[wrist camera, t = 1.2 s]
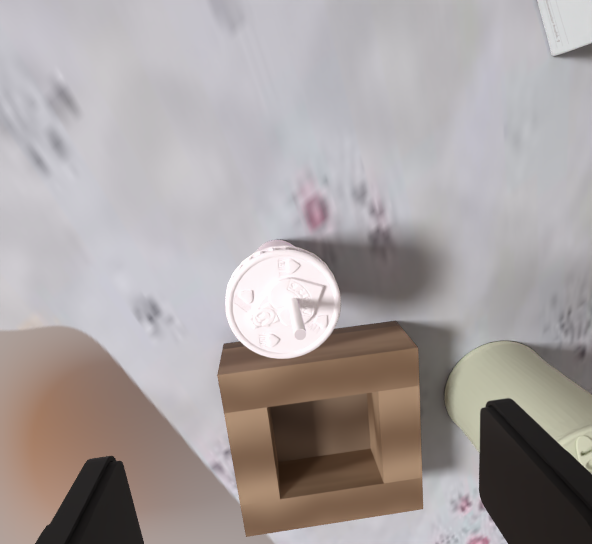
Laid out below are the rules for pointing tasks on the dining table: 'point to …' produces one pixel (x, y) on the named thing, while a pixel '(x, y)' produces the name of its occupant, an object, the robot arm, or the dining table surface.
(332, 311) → the smoothie
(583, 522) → the robot arm
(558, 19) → the supplement box
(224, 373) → the socket block
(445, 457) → the dining table surface
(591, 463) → the can
